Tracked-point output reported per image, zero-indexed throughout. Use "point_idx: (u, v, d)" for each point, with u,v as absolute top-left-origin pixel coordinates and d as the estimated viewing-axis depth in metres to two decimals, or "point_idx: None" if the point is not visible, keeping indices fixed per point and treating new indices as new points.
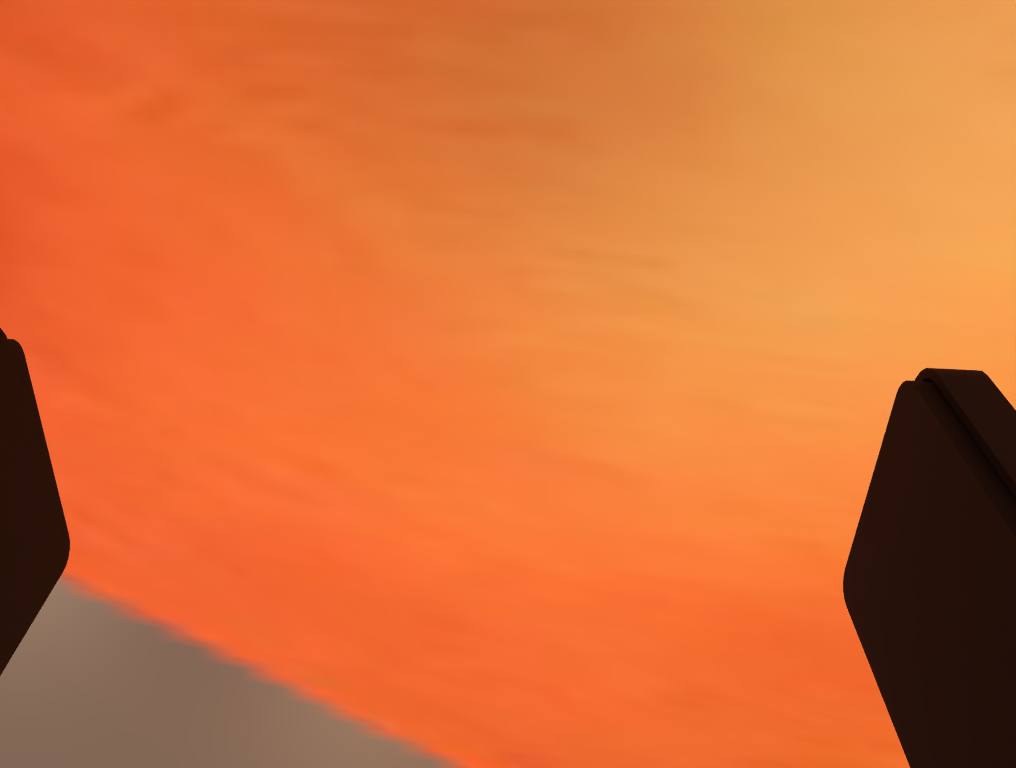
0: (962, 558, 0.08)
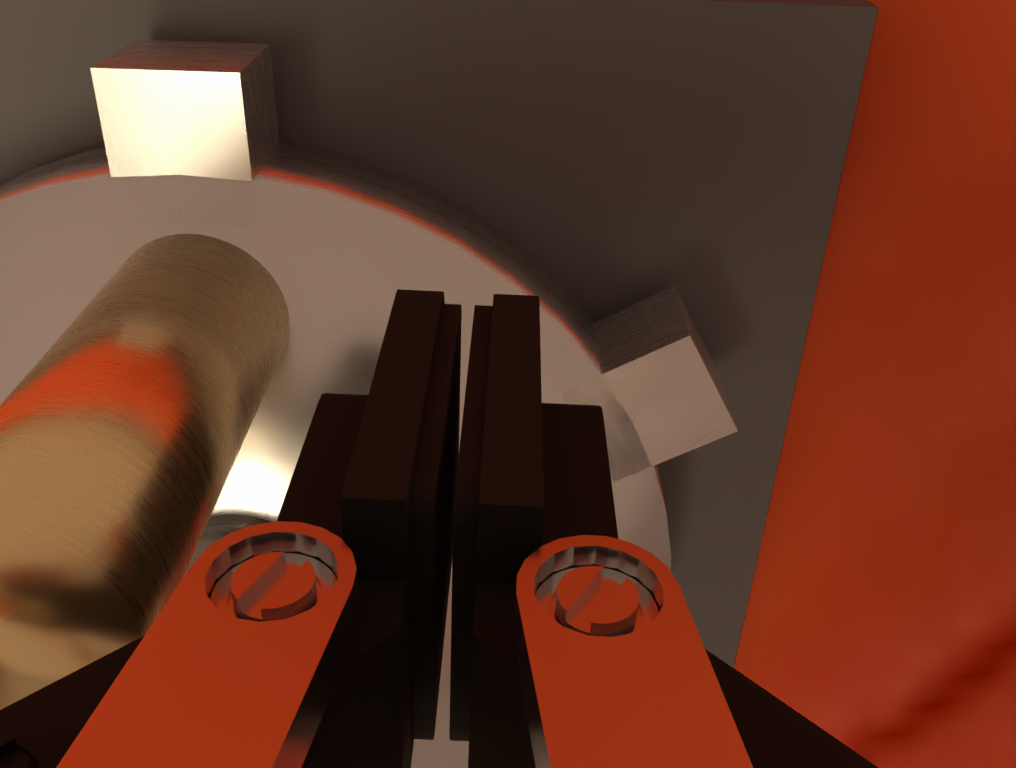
0: None
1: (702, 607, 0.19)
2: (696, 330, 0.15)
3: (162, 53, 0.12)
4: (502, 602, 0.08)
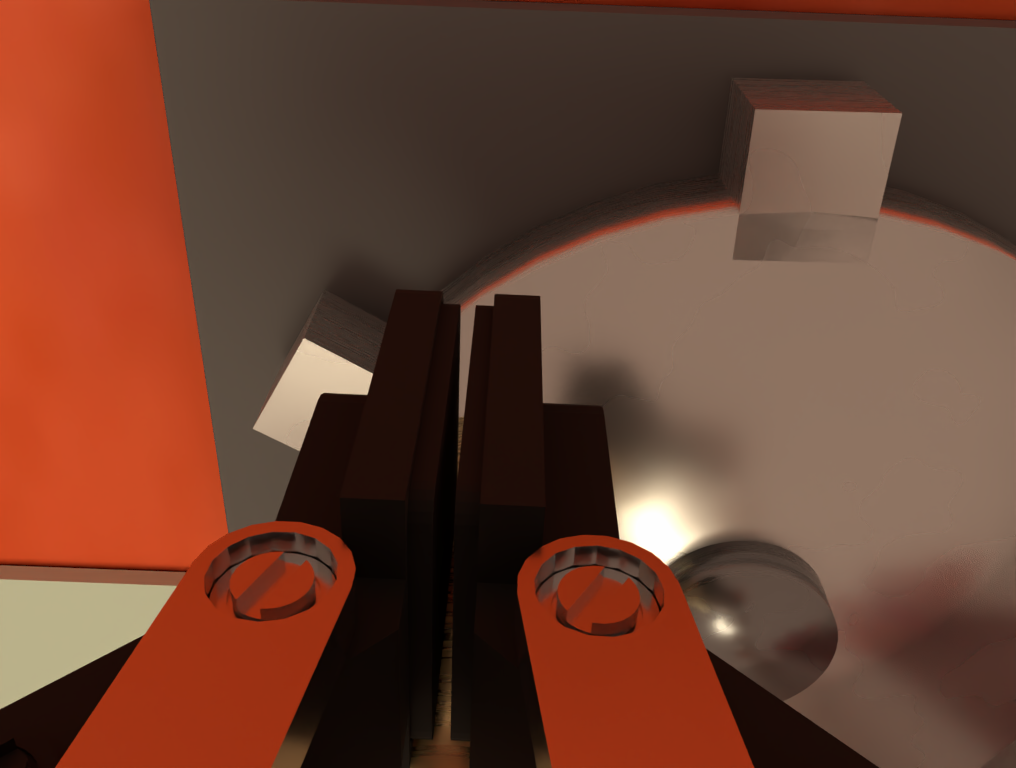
0: None
1: None
2: (792, 81, 0.13)
3: (282, 370, 0.15)
4: (504, 604, 0.08)
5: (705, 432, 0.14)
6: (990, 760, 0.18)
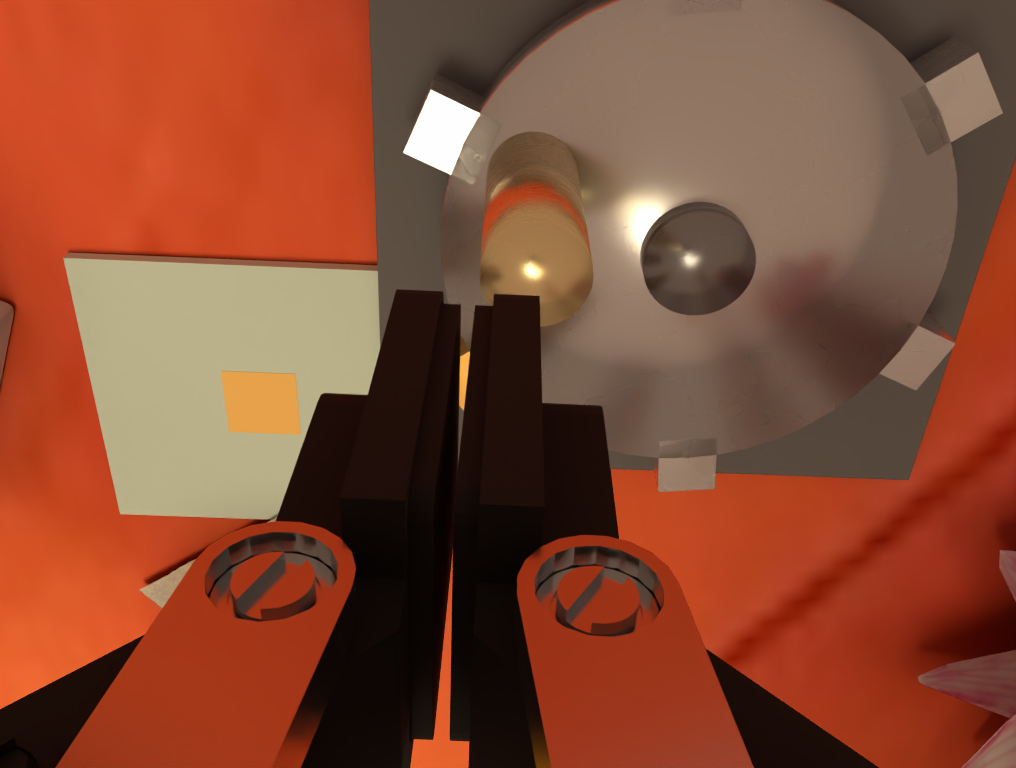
0: None
1: (941, 297, 0.29)
2: None
3: (415, 122, 0.26)
4: (504, 604, 0.08)
5: (663, 129, 0.25)
6: (872, 353, 0.28)
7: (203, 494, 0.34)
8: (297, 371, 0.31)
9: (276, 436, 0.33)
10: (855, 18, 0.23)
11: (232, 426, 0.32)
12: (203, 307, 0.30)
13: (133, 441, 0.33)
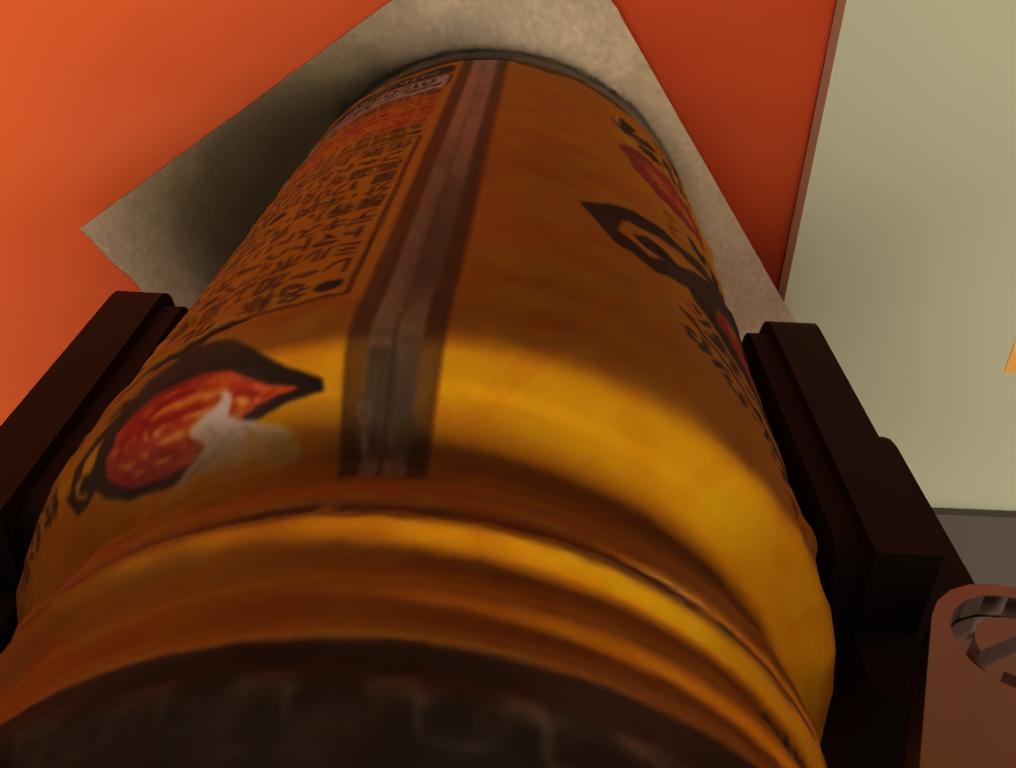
0: None
1: None
2: None
3: None
4: (890, 653, 0.07)
5: None
6: None
7: (888, 146, 0.14)
8: None
9: (1012, 327, 0.15)
10: None
11: None
12: None
13: None
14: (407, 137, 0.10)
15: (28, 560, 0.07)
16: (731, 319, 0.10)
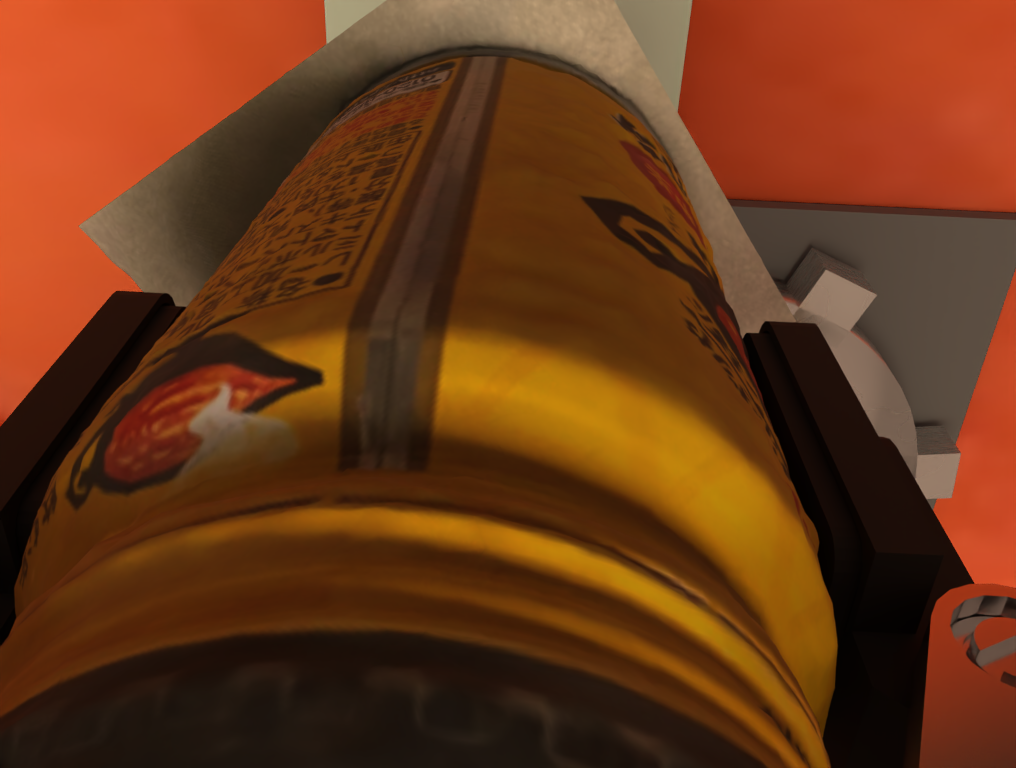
0: None
1: None
2: None
3: (834, 265, 0.29)
4: (889, 654, 0.07)
5: None
6: None
7: None
8: None
9: None
10: None
11: None
12: (636, 6, 0.26)
13: None
14: (406, 133, 0.10)
15: (26, 556, 0.07)
16: (732, 315, 0.09)
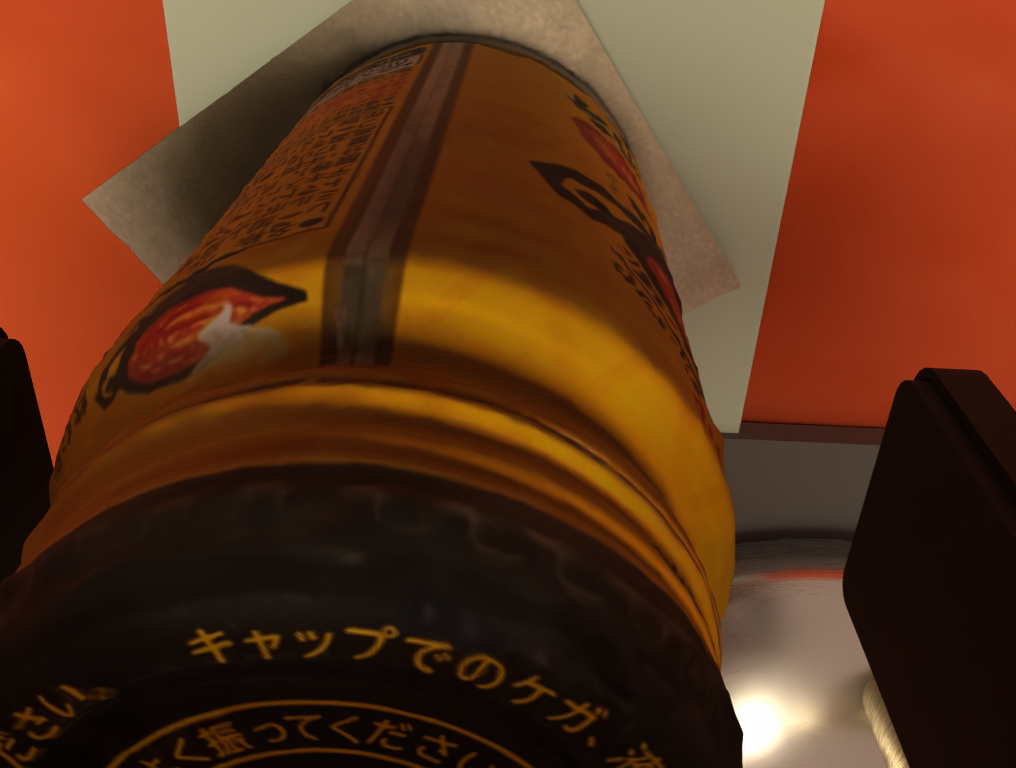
0: (961, 558, 0.08)
1: None
2: None
3: None
4: None
5: None
6: None
7: (237, 69, 0.15)
8: None
9: None
10: None
11: None
12: (702, 150, 0.16)
13: None
14: (380, 108, 0.11)
15: (60, 453, 0.08)
16: (665, 267, 0.11)
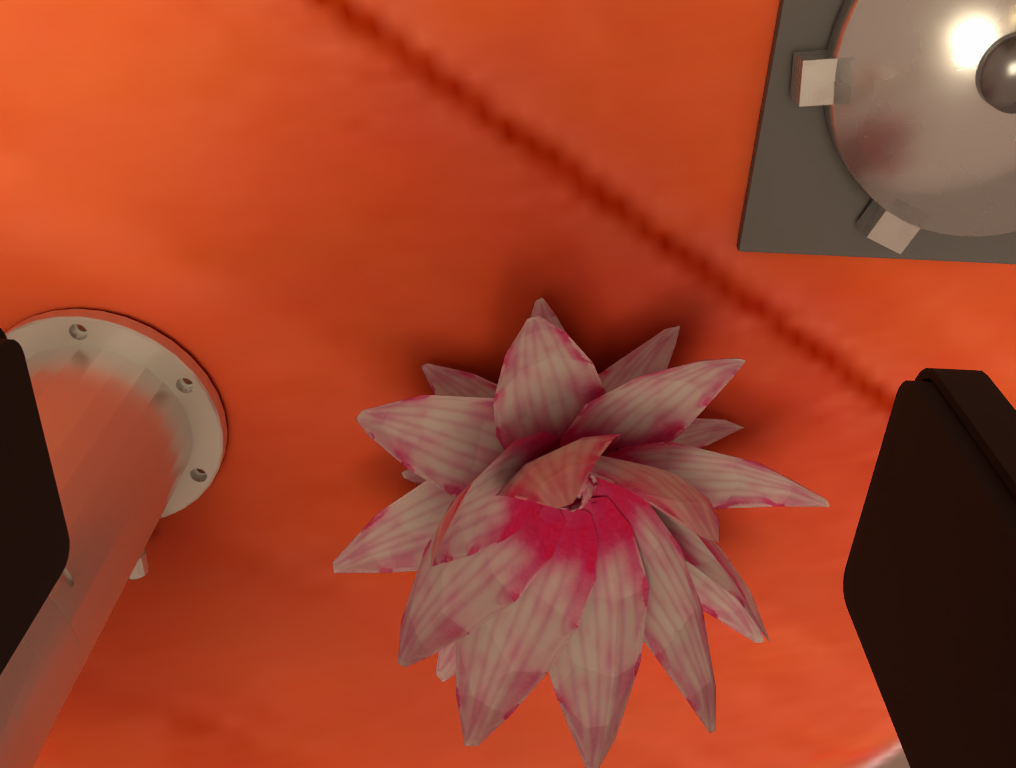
0: (962, 558, 0.08)
1: None
2: None
3: None
4: None
5: None
6: (904, 202, 0.41)
7: None
8: None
9: None
10: None
11: None
12: None
13: None
14: None
15: None
16: None
